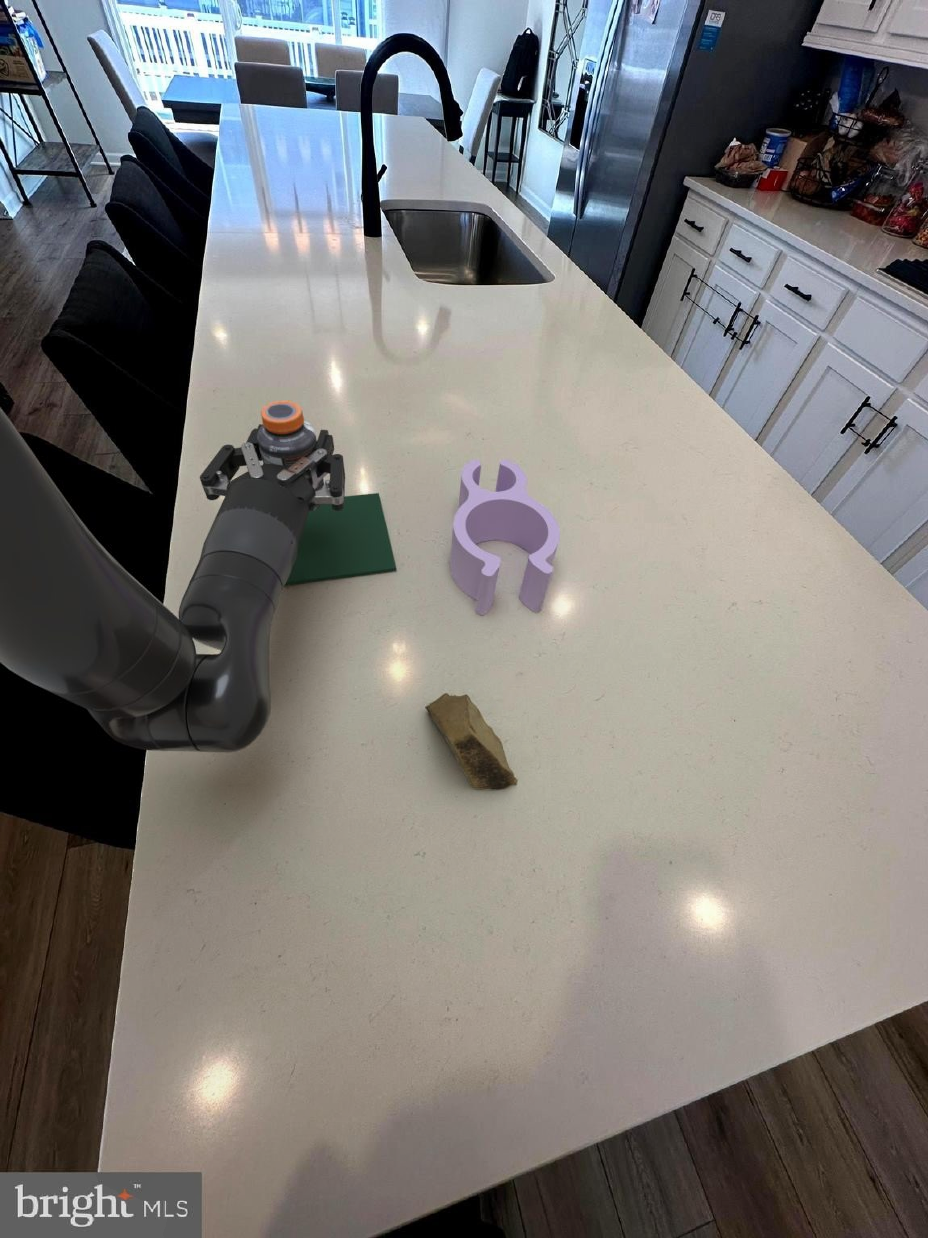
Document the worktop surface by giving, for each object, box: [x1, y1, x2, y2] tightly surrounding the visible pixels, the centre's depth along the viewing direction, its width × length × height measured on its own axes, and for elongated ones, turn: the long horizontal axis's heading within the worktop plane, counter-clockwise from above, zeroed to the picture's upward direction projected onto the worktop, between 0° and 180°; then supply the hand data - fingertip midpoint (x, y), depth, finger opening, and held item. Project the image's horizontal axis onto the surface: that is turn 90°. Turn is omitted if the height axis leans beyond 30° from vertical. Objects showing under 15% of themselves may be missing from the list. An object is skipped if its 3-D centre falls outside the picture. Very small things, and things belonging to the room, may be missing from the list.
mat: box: [284, 492, 397, 587], centre depth 70 cm, size 20×14×1 cm
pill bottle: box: [257, 399, 325, 512], centre depth 60 cm, size 6×6×11 cm
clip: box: [449, 458, 561, 616], centre depth 69 cm, size 20×12×7 cm, turn 8°
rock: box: [424, 692, 518, 791], centre depth 53 cm, size 11×9×10 cm
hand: (295, 434), depth 61 cm, fingers closed on pill bottle, 6 cm apart
